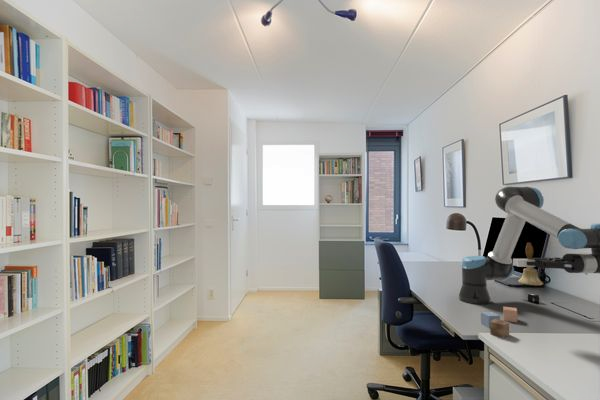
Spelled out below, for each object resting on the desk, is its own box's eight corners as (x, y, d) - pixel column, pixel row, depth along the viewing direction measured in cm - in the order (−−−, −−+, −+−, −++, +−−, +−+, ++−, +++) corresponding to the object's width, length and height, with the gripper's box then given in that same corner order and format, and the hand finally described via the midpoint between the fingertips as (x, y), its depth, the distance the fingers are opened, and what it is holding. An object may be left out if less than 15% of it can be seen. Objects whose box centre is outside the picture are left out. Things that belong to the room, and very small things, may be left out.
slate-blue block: (481, 324, 142) (480, 312, 142) (491, 323, 142) (491, 311, 143) (488, 328, 137) (488, 316, 137) (500, 327, 138) (499, 315, 138)
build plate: (550, 305, 171) (549, 296, 171) (538, 306, 169) (538, 297, 169) (528, 299, 183) (528, 291, 183) (517, 300, 181) (517, 291, 181)
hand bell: (536, 286, 126) (535, 244, 126) (513, 282, 133) (512, 242, 133) (547, 284, 129) (547, 243, 130) (525, 279, 137) (524, 241, 137)
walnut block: (490, 334, 130) (490, 321, 130) (495, 331, 133) (494, 318, 134) (504, 338, 126) (504, 324, 127) (509, 334, 130) (508, 322, 130)
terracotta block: (503, 320, 146) (503, 309, 146) (503, 317, 151) (503, 306, 151) (517, 322, 144) (517, 311, 144) (516, 319, 148) (516, 308, 148)
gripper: (593, 276, 123) (526, 275, 124) (564, 269, 137) (505, 268, 139) (593, 256, 123) (526, 255, 125) (564, 251, 137) (505, 250, 139)
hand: (515, 262), depth 132 cm, fingers closed on hand bell, 2 cm apart
